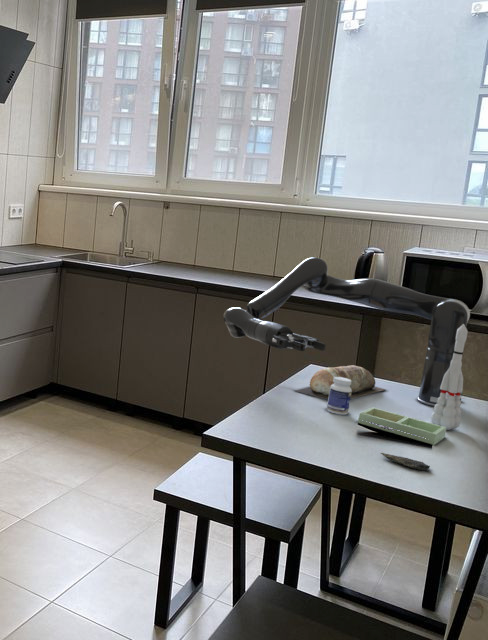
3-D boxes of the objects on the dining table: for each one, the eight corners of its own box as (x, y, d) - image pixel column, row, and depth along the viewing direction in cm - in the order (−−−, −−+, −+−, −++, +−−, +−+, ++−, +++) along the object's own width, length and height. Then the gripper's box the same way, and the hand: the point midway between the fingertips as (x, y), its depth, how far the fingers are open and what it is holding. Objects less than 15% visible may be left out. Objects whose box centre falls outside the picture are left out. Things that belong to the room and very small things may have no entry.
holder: (370, 416, 214) (371, 406, 213) (444, 437, 200) (446, 427, 200) (358, 422, 206) (359, 412, 206) (434, 445, 193) (436, 434, 193)
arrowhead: (378, 456, 181) (379, 450, 181) (422, 463, 179) (423, 457, 178) (386, 467, 174) (387, 461, 174) (432, 474, 172) (433, 468, 172)
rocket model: (426, 421, 214) (445, 319, 209) (455, 426, 211) (475, 323, 207) (432, 429, 207) (452, 324, 202) (462, 434, 205) (483, 328, 200)
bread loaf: (332, 377, 258) (335, 351, 257) (387, 388, 246) (390, 361, 245) (292, 397, 233) (294, 368, 232) (351, 410, 221) (354, 380, 220)
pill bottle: (350, 416, 212) (355, 382, 210) (329, 413, 213) (334, 379, 211) (344, 410, 217) (350, 377, 216) (324, 407, 218) (329, 374, 217)
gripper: (287, 345, 241) (329, 359, 226) (254, 346, 235) (295, 360, 220) (291, 322, 240) (333, 335, 225) (258, 323, 234) (299, 336, 219)
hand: (314, 347), depth 223 cm, fingers open, 8 cm apart
